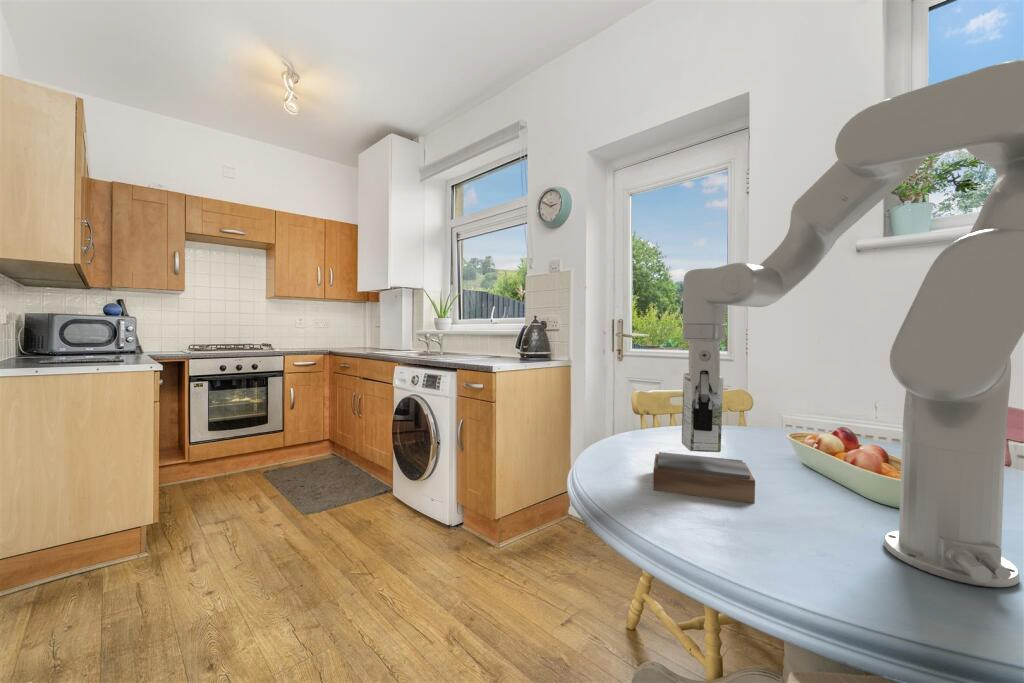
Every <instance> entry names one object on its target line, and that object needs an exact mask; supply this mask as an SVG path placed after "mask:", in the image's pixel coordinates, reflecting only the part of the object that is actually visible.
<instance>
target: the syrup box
mask: <svg viewBox="0 0 1024 683" xmlns="http://www.w3.org/2000/svg"><path fill="white" fill-rule="evenodd" d="M682 377H683V379H682V380H683V381H682V385H683V386H682V417H681V420H682V422H681V423H682V424H681V444H682V445H683V446H684V448H686V449H687V450H688V451H689V452H700V453H701V452H703V453H704V452H705V453H720V452H722V431H723V430H722V426H723V425H722V423H723V422H722V421H723V399H724V378H723V377H722V376H721V375H720V394H718V395H716V393H717V392H713V391H712V388H711V393H712V410H713V416H712V431H700V430H694V429H693V416H694V408H695V394H694V393H693V392H692V390H691V381H690V374H689V372H688V373H687V372H684V373H683V376H682ZM700 381H701V380H700ZM695 389H696V387H695ZM698 392H701V389H700V388H698Z"/></svg>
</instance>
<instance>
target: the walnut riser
mask: <svg viewBox="0 0 1024 683" xmlns="http://www.w3.org/2000/svg"><path fill="white" fill-rule="evenodd" d="M751 472H752V471H751V470H750V469H749V467H748V465H747V463H746V462H743V460H742V459H733V458H724V457H713V456H711V457H710V456H702V455H693V454H692V455H691V454H683V453H681V454H680V453H675V452H674V453H671V452H661V451H659V452H658V453H655V457H654V463H653V475H652V476H653V478H652V480H653V482H652V484H653V485H652V491H656V492H665V493H672V494H681V495H686V496H687V495H690V496H695V497H696V496H697V497H704V498H711V499H712V498H713V499H719V500H720V499H721V500H728V501H733V502H742V503H750V504H755V503H756V502H755V501H756V500H755V499H756V498H755V497H756V479H755V478H754V476H753V474H752V473H751Z"/></svg>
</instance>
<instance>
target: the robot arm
mask: <svg viewBox="0 0 1024 683" xmlns="http://www.w3.org/2000/svg"><path fill="white" fill-rule="evenodd" d="M963 149H966V150H967V152H968V153H969V154H970V155H971V156H973V157H974V158H975V159H977V160H979V161H982V162H983V163H985V164H987V165H989V166H990V167H992V168H993V169H994V171H995V173H996V180H995V182H994V185H993V187H992V188H991V189H990V192H989V193H988V195H987V197H986V198H985V201H984V202H983V204H982V207H981V208H980V211H979V214H978V217H977V218H976V220H975V222H974V224H973V226H972V227H971V230H970V231H969V234H967V235H964V236H961V237H960V238H958V239H956V240H955V241H953V242H952V243H951V244H949V245H948V246H947V247H945V248H944V249H943V250H942V251H941V252H940V253H939V255H938V256H937V257H936V258H935V260H934V261H933V263H932V264H931V266H930V267H929V269H928V271H927V272H926V274H925V277H924V279H923V281H922V282H921V285H920V286H919V289H918V290H917V293H916V295H915V297H914V299H913V302H912V304H911V306H910V307H909V310H908V311H907V314H906V316H905V318H904V320H903V322H902V324H901V326H900V328H899V330H898V333H897V335H896V336H895V339H894V341H893V344H892V346H891V349H890V354H889V364H890V369H891V373H892V374H893V376H894V378H895V379H896V381H897V382H898V383H899V385H901V386H902V387H903V388H904V389H905V395H904V397H905V398H904V408H903V417H902V418H903V420H902V437H901V457H900V458H901V461H900V464H901V465H900V489H899V490H900V491H899V492H900V493H899V518H898V519H899V522H898V524H899V525H898V530H892V531H889V532H888V533H885V534H884V539H883V545H884V548H886V550H887V552H889V553H890V554H891V555H893V556H894V557H895V558H897V559H899V560H900V561H902V562H903V563H906V564H907V565H909V566H912V567H914V568H915V569H916V568H917V569H919V570H921V571H924V572H927V573H929V574H932V575H934V576H938V577H941V578H944V579H947V580H951V581H955V582H958V583H959V582H960V583H964V584H968V585H973V586H981V587H985V588H988V587H989V588H1008V587H1013V586H1015V585H1017V584H1019V581H1020V570H1019V569H1018V567H1017V566H1016V565H1014V563H1012V562H1011V561H1010V560H1008V559H1006V558H1005V557H1003V556H1002V550H1003V549H1002V540H1003V539H1002V538H1003V515H1004V514H1003V512H1004V491H1005V490H1004V487H1005V466H1006V465H1005V464H1006V451H1007V431H1008V430H1007V429H1008V428H1007V426H1008V412H1009V410H1008V409H1009V401H1010V400H1009V398H1010V391H1011V390H1010V387H1011V379H1012V378H1011V377H1012V361H1011V360H1012V359H1011V355H1012V353H1013V352H1014V350H1015V348H1016V346H1017V345H1018V344H1019V341H1020V340H1021V338H1022V336H1023V335H1024V59H1017V60H1011V61H1009V60H1008V61H1005V62H1000V63H996V64H992V65H990V66H986V67H983V68H980V69H976V70H974V71H971V72H970V71H969V72H967V73H963V74H961V75H957V76H955V77H952V78H949V79H944V80H943V81H939V82H936V83H932V84H930V85H929V84H928V85H926V86H924V87H920V88H918V89H914V90H910V91H907V92H905V93H901V94H899V95H896V96H892V97H890V98H887V99H884V100H882V101H879V102H877V103H875V104H873V105H871V106H868V107H866V108H865V109H863V110H861V111H859V112H858V113H857V114H856V113H855V114H854V116H852V117H851V118H850V119H849V120H848V121H847V122H846V123H845V124H844V125H843V126H842V128H841V129H840V131H839V132H838V135H837V136H836V139H835V145H834V151H835V156H836V158H837V160H836V161H835V162H834V164H832V165H831V167H829V168H828V169H827V170H826V171H825V172H824V173H823V174H822V175H821V176H820V177H819V178H818V179H817V180H816V181H815V182H814V183H813V184H812V185H811V186H810V187H809V188H808V189H807V190H806V191H805V192H804V193H803V194H802V195H801V196H800V197H799V198H797V200H796V201H795V202H794V204H792V207H791V210H790V220H789V228H788V230H787V233H786V235H785V237H784V239H783V240H782V242H780V244H779V245H778V247H777V248H776V249H775V250H774V251H773V252H772V253H771V254H770V255H768V256H767V258H766V259H764V260H763V261H762V262H761V263H760V264H754V263H747V262H734V263H730V264H726V265H722V266H719V267H713V268H712V267H711V268H710V267H709V268H704V267H703V268H695V269H690V270H688V271H687V272H686V273H685V274H684V276H683V290H682V292H683V293H682V294H683V295H682V342H688V373H689V374H690V381H691V390H692V392H693V393H694V394H695V408H694V416H693V429H694V430H700V431H712V416H713V410H712V393H711V388H712V391H713V392H717V393H716V395H718V394H720V376H721V355H720V343H724V342H726V317H727V316H726V315H727V314H726V310H727V306H734V307H750V308H764V307H768V306H770V305H772V304H775V303H776V302H778V301H779V300H781V299H783V298H784V297H785V296H786V295H787V294H788V293H790V292H791V291H792V290H793V289H794V288H795V287H797V286H798V285H799V284H801V282H803V281H804V279H806V278H807V277H808V276H810V274H811V273H812V272H813V271H814V270H815V269H816V267H818V265H819V264H820V263H821V262H822V261H823V259H824V258H825V256H827V255H828V253H830V251H831V249H832V248H833V246H834V245H835V244H836V243H837V241H838V239H839V238H840V237H841V236H843V235H844V233H846V232H847V231H848V230H849V229H850V228H852V227H853V226H854V225H855V224H856V223H857V222H858V221H860V220H861V219H862V218H863V217H864V216H865V215H866V214H867V213H869V212H870V211H871V210H872V209H873V208H874V207H876V205H878V204H879V203H880V202H881V201H882V200H884V199H885V198H886V197H887V196H889V194H891V193H892V192H893V191H894V190H895V189H896V188H898V187H899V186H900V185H901V184H903V182H905V181H906V180H907V179H908V178H910V176H912V175H913V174H914V173H915V172H916V171H917V170H918V169H919V168H920V167H921V165H922V164H923V163H924V162H925V161H926V159H927V157H931V156H935V155H936V156H937V155H940V154H945V153H950V152H955V151H959V150H963ZM700 380H701V381H700ZM695 387H696V389H695ZM698 388H700V389H701V392H698Z"/></svg>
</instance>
